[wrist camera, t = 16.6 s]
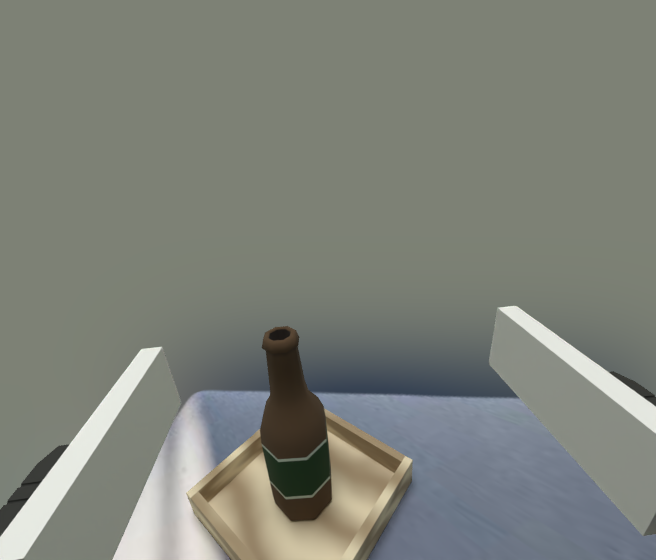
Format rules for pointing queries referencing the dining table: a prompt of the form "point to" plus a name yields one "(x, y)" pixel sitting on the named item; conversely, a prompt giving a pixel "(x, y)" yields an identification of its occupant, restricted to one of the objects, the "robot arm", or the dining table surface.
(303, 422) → the beer bottle
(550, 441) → the dining table surface
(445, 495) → the dining table surface
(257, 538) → the oak tray
